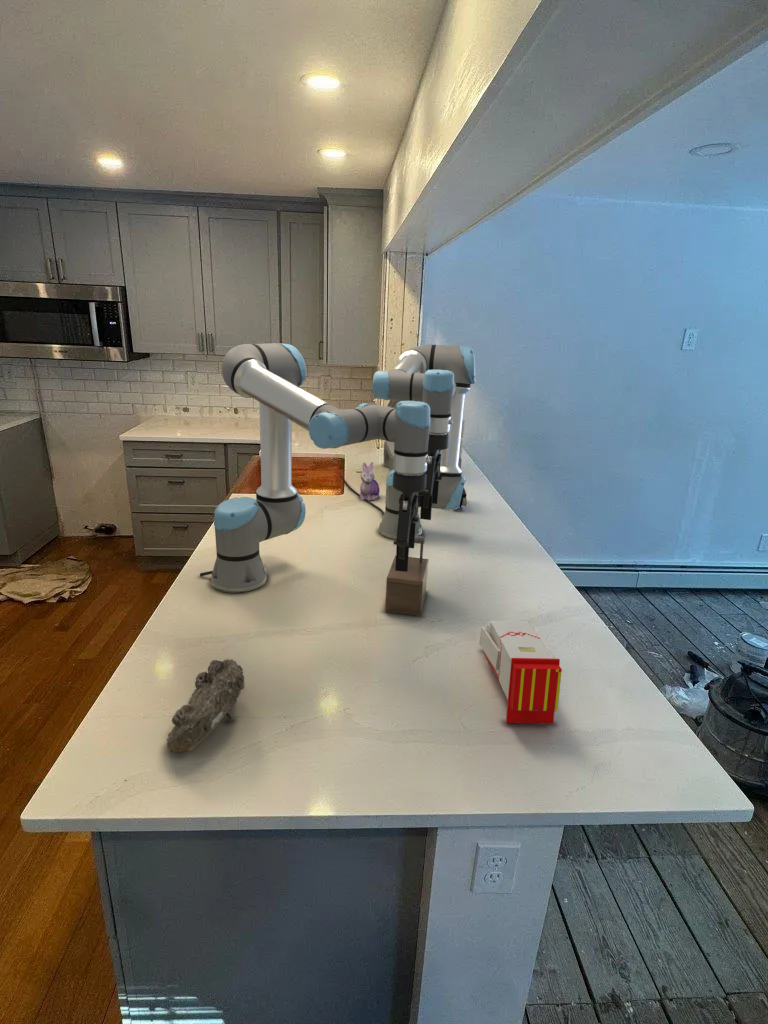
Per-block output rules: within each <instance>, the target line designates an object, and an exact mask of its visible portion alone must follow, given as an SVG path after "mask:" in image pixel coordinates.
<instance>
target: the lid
mask: <svg viewBox="0 0 768 1024" xmlns="http://www.w3.org/2000/svg"><path fill="white" fill-rule="evenodd" d="M425 537H426V536H422V535H421V536H415V542H414V544H420V549H419V557H414V556H408V571H407V572H404V571H395V567H396V554H395V555H394V558H393V560H392V563H391V565H390V568H389V571H388V574H387V576H386V583H387V582H393V583H401V584H410V585H418V586H423V582H424V578H425V574H426V570H427V566H428V567H429V558H423V556H424V544H425V539H426V538H425ZM400 540H402V539H400Z"/></svg>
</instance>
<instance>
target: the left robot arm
mask: <svg viewBox="0 0 768 1024" xmlns="http://www.w3.org/2000/svg"><path fill="white" fill-rule="evenodd" d="M220 372H221V377H222V379H223V381H224V383H225V384H226V386H227V387H228V388H229V389H230V390H231V391H232V392H234V393H235V394H237V395H239V396H241V397H242V398H244V399H254V400H256V402H258V404H259V440H260V441H259V442H260V444H259V445H260V482H261V485H260V486H258V487H257V489H256V490H255V499H254V498H253V497H250V496H240V497H233V498H228V499H226V500H224V501H222V502H220V503H219V504H218V505H217V506H216V507H215V510H214V513H213V515H214V517H213V520H214V521H213V526H214V532H215V533H214V535H215V549H216V550H215V551H216V558H215V561H214V565H213V569H212V570H210V571H204V572H200V573H199V576H200V577H205V576H209V575H211V577H210V579H211V585H212V587H213V588H215V589H216V590H218V591H219V592H224V593H230V594H231V593H232V594H239V593H240V594H241V593H247V592H252V591H254V590H257V589H259V588H261V587H263V586H264V585H265V584H266V583H267V580H268V574H267V566H266V563H264V562H263V560H262V557H261V555H260V543H262V542H265V541H267V540H271V539H274V538H277V537H280V536H283V535H288V534H290V533H292V532H295V531H297V530H298V529H300V527H301V526H302V525H303V524H304V522H305V519H306V513H307V512H306V511H307V510H306V504H305V502H303V501H304V499H303V497H302V496H301V495H300V494H299V493H298V489H297V488H296V487H295V486H294V485H293V466H292V465H293V464H292V462H293V461H292V460H293V458H292V455H293V453H292V452H293V450H292V447H293V445H292V443H293V441H292V433H293V432H292V430H293V429H292V425H293V423H294V424H296V425H298V426H299V427H300V428H303V429H304V430H306V431H307V432H308V435H309V438H310V440H312V443H313V445H315V447H317V448H319V449H322V450H325V449H338V448H340V447H345V446H349V445H350V446H351V445H355V444H359V443H360V444H361V443H365V442H370V441H374V440H381V441H384V442H386V441H390V442H394V461H393V469H394V470H395V472H394V473H393V488H394V489H395V490H397V491H401V492H402V493H403V494H401V496H400V497H399V512H398V513H399V518H398V527H397V537H396V540H393V542H392V545H393V546H395V547H396V548H395V549H396V550H395V555H396V567H395V571H404V572H407V571H408V557H410V556H409V553H410V549H415V543H414V542H415V526H416V523H413V522H418V521H419V518H420V517H419V518H418V517H416V516H417V501H418V495H417V492H421V491H423V490H425V488H426V477H427V475H426V473H425V472H426V471H427V463H430V459H429V458H428V459H427V457H428V441H429V432H430V425H431V422H430V407H429V405H428V404H427V403H424V402H420V401H401V402H398V403H397V406H396V408H391V407H387V405H386V406H385V405H380V404H377V403H368V402H367V403H366V402H365V403H359V405H358V406H356V407H355V408H349V409H340V408H338V407H336V406H334V405H332V404H331V403H329V402H327V401H325V400H323V399H322V398H320V397H318V396H316V395H314V394H312V393H311V392H308V391H307V390H306V389H303V388H301V386H302V385H303V384H304V382H305V381H306V378H307V366H306V361H305V359H304V357H303V354H302V353H300V351H299V350H298V349H297V348H296V346H294V345H292V344H289V343H282V342H281V343H280V342H271V343H269V342H267V343H242V344H239V345H236V346H234V347H232V348H231V349H230V350H228V351H227V353H226V354H225V355H224V357H223V359H222V362H221V371H220ZM292 422H293V423H292ZM400 539H402V540H400Z"/></svg>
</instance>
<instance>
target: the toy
mask: <svg viewBox="0 0 768 1024" xmlns="http://www.w3.org/2000/svg"><path fill="white" fill-rule="evenodd" d="M478 642H479V643H478V644H479V646H480V647H481V650H482V651H483V654H484V655H485V657H486V659H487V661H488V663H489V664H490V666H491V669H492V670H493V672H494V674H495V676H496V678H497V679H498V682H499V684H500V687H501V688H502V691H503V693H504V695H505V697H506V699H507V706H506V717H505V722H506V724H547V725H549V724H551V725H553V724H554V718H555V712H558V711H559V710H558V709H559V698H560V689H561V682H562V681H561V680H562V672H563V671H562V667H561V666H560V663H561V659H560V658H554V656H553V654H552V653H551V651H550V650H549V649H548V647H547V646H546V644H545V643H544V642H543V640H542V638H540V636H539V635H538V633H537V631H536V630H535V627H534V626H532V625H531V623H530V622H529V620H528V621H527V620H526V621H525V620H524V621H523V620H490V621H489V622H487V623H486V628H485V626H480V634H479V641H478Z"/></svg>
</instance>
